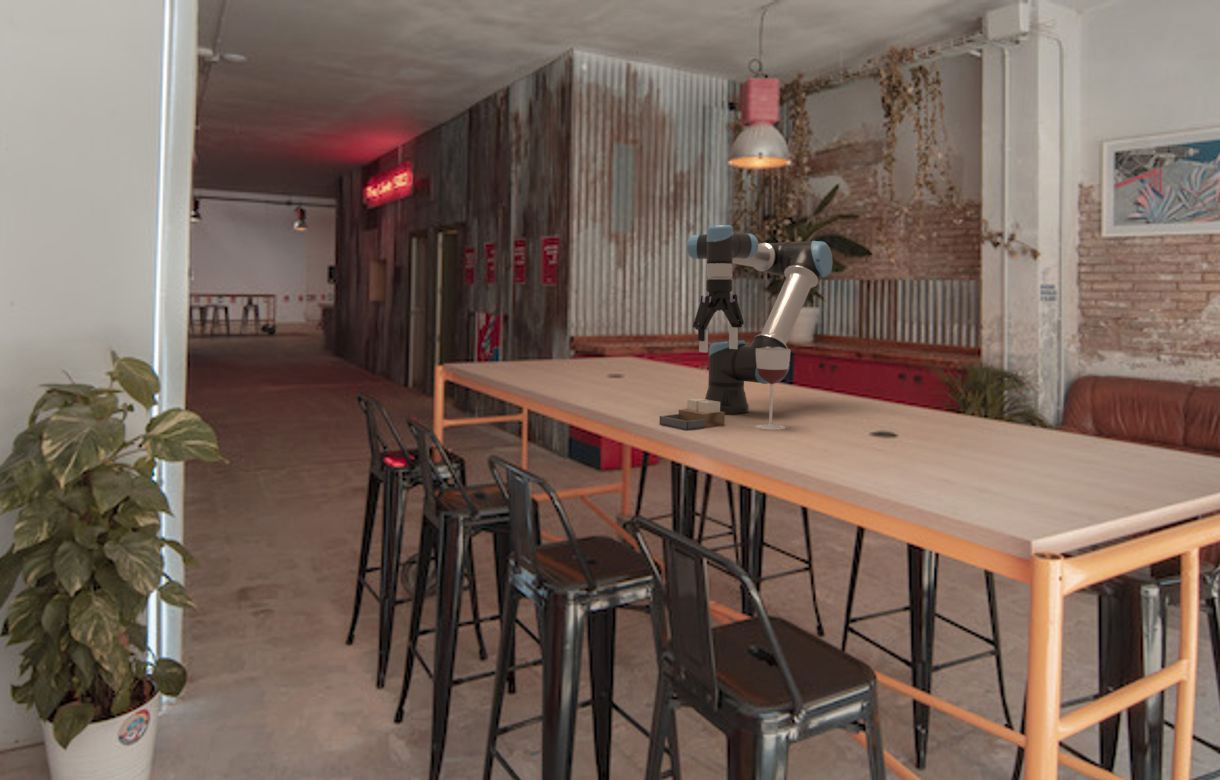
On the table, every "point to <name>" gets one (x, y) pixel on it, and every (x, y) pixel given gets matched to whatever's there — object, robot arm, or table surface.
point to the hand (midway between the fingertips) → (718, 350)
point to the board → (703, 417)
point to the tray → (681, 422)
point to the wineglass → (772, 373)
